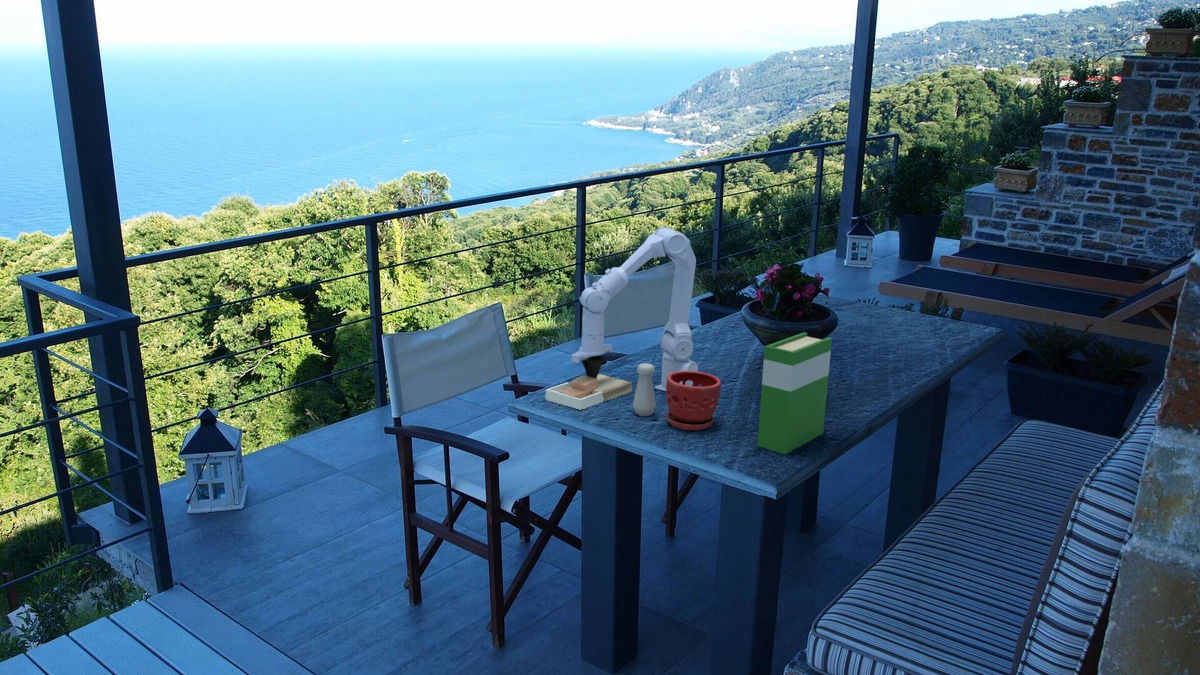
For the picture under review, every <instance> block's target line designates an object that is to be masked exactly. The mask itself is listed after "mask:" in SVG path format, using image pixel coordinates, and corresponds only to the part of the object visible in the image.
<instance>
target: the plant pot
mask: <svg viewBox="0 0 1200 675" xmlns="http://www.w3.org/2000/svg"><path fill="white" fill-rule="evenodd" d="M688 380H691V381H692V382H693V386H687V385H685V383H686V381H688ZM681 381H682V382H683V383H682V384H680V382H681ZM699 385H701V386H699ZM721 385H722V381H721V380H720V378H718V377H716V376H714V375H712V374H710V373H706V372H700V371H698V372H695V371H680V372H674V373H671V374H669V375H668V377H667V383H666V391H665V396H666V404H667V407H668V410H669V411H668V412H667V413H666V415H665V416H666V417H665V418H666V420H667V421H668V423H669V424H670V425H671V426H673V427H675V428H677V429H681V430H686V431H698V430H700V431H701V430H704V429H708V428H709V427H711V426H712V425H713V423H714V421H715V418H714V417H713V415H714V413H715V412H716V410H717V407H718V403H719V399H720V394H721Z"/></svg>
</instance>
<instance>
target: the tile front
mask: <svg viewBox="0 0 1200 675" xmlns="http://www.w3.org/2000/svg"><path fill="white" fill-rule="evenodd" d="M559 393H562V394H566V395H569V396H572V397H576V398H579V399H582V398H584V397H587V392H586V391H582V390H579V389H575V388H569V389H567V390H564V391H561V392H559Z"/></svg>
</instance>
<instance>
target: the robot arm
mask: <svg viewBox="0 0 1200 675" xmlns="http://www.w3.org/2000/svg"><path fill="white" fill-rule="evenodd" d="M666 255H667V256H668V258H670V260H671V261H672V262H673V263H674V265H675V266H674V273H673V282H672V283H673V284H672V290H671V291H672V292H671V298H670V299H671V300H670V306H669V308H670V309H669V317H668V321H667V323H666V324H665V325H664V330H663V333H662V335H661V336H660V339H659V344H660V348H661V349H662V351H663V354H662V358H661V360H662V361H661V363H662V365H661V384H658V385H655V386H654V390H655V389H656V390H660V391H662V392H663V391H664V392H666V383H667V377H668V375H669V374H671V373H674V372H680V371H695V372H699V366H698V363H697V362H695V361H693V360H691V359H690V357H691V356H692V354H693V352H694V344H693V341H692V336H693V333H692V331H691V328H690V324H689V322H690V314H691V305H692V298H693V290H694V282H695V281H694V280H695V273H696V265H697V258H696V256H695V253H694V250H693V248H692V246H691V240H690V239H689V238H688V237H687V236H686V235H685V234H684V233H683V232H680V231H677V230H674V229H672V228H670V227H668V226H661V227H659V228H657V229H656V230H655V231H654V233H652V234H650V235H649V236H647V238H646V239H645V240H644V242H643V243H642V244H641V245H640V246H639V247H638V248H637V249H636V250H635V251H634V253H632V254H631V255H630V257H629V258H627V260H625V261H624V262H623V264H622V265H620V266H619V267H615V266H614V267H612V268H611V269H610V268H607V269H606V270H605V271H604V272H605V274H604V275H603V276H602V277H601V278H600V279H598V280H597V281H596V282H595V281H594V282H593V283H592V284H591V286H590V287H586V288H585V289H584V290H583V291H582V292H581V295H580V296H579V301H580V304H581V306H582V315H581V316H582V319H581V320H582V323H581V326H582V328H581V346H580V347H579V348H578V351H576V352H575V353H571V363H576V364H578V363H581V364H582V366H583V368H584V371H585V374H586V376H589V377H592V378H596V379H597V376H598V374H600V373H599V372H600V369H601V368H602V366H603V363H605V356H602V355H603V354H607V353H613V346H614V345H612V344H609V343H605V340H604V339H605V338H604V337H605V334H604V333H605V311H606V309H607V308H608V305H609V301H610V300H612V299H613V298H614V297H615V296H616V295H617V294H618V293H619V292H621V290H623V288H625V287H626V286H627V285H628V283H629V277H630V276H631V275H632V274H634V273H635V272H637V271H638V270H639V269H640V268H641V267H643V265H644V264H646V263H647V262H648V261H650V260H651V259H653V258H663V257H664V258H665V257H666ZM682 383H683V382H682V381H681V382H680V384H682ZM685 385H687V386H693V382H692V381H691V380H688V381H686V383H685Z"/></svg>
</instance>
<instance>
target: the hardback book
mask: <svg viewBox="0 0 1200 675" xmlns="http://www.w3.org/2000/svg"><path fill="white" fill-rule="evenodd" d="M832 340H833V338H832V337H826V338H823V339H820V338H817V337H811V336H808V332H801V333H798V334H796V335H793V336H790V337H788V338H785V339H781V340H779V341H776V342H773V343H770V344H768V345H764V350H763V352H764V353H763V366H762V377H761V378H762V379H761V393H760V394H761V395H760V407H759V419H758V421H759V422H758V434H757V447H760V448H764V449H766V450H769V451H774V452H777V453H779V454H781V455H782V454H783V455H788V454H789V453H790V452H793V451H795V450H797V449H799V448H800V447H802V446H804V445H806V444H808V443H810V442H811V441H810V440H812V439H814V438H816V437H817V436H819V435H821V434H822V433H823V434H824V431H825V430H824V428H825V418H826V417H825V416H826V408H827V396H828V395H827V394H828V385H829V376H830V374H829V373H830V363H831V354H832V353H831V352H832V344H833V342H832ZM821 436H822V435H821ZM819 437H820V436H819ZM817 438H818V437H817ZM817 438H816V439H817ZM814 440H815V439H814ZM809 441H810V442H809ZM812 441H813V440H812ZM807 442H808V443H807ZM805 443H806V444H805ZM803 444H804V445H803ZM798 447H799V448H798ZM796 448H797V449H796ZM794 449H795V450H794ZM792 450H793V451H792Z"/></svg>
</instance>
